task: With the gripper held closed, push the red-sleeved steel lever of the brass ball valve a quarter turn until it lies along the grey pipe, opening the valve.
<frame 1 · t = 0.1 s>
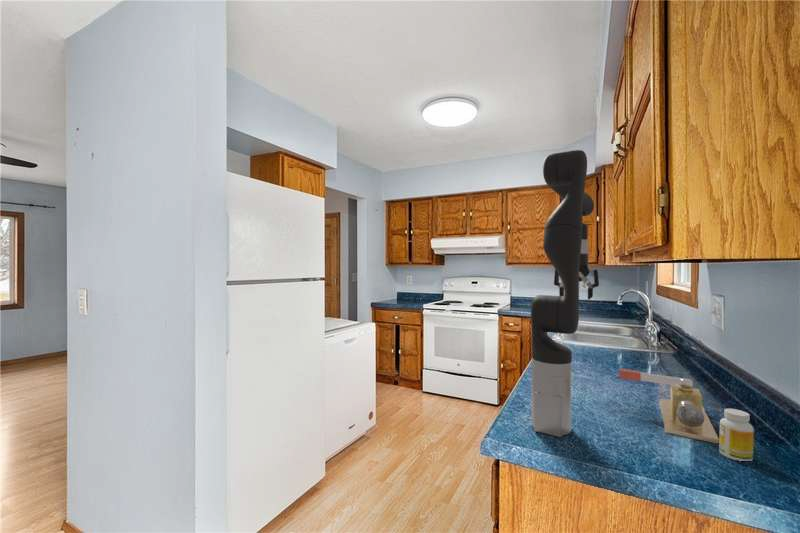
hand: (575, 298, 128), 29 cm above the worktop, tool pointing down, fingers open, 8 cm apart
valve lever: (654, 378, 99), point 10 cm above the worktop, hinge at 90.0°
supplement bottle: (735, 457, 78), on the worktop
valve rig: (685, 419, 96), on the worktop
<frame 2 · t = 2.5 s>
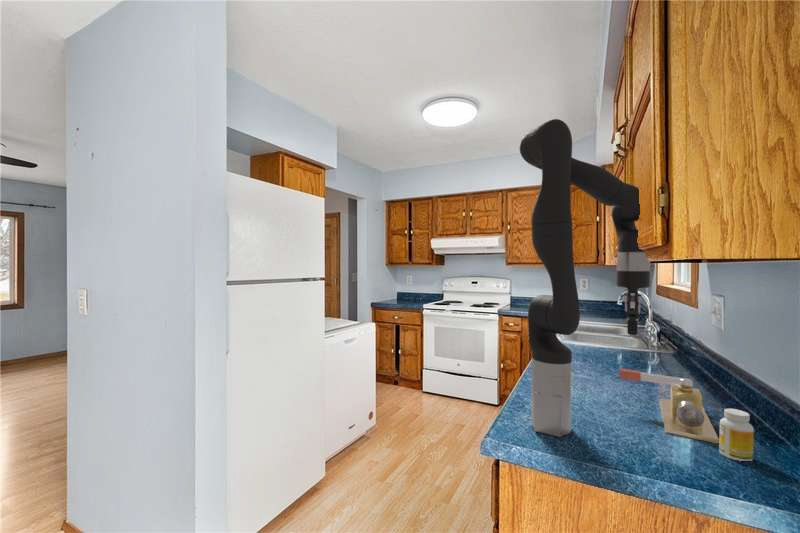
hand: (632, 334, 96), 23 cm above the worktop, tool pointing down, fingers closed
nothing on the worktop moved.
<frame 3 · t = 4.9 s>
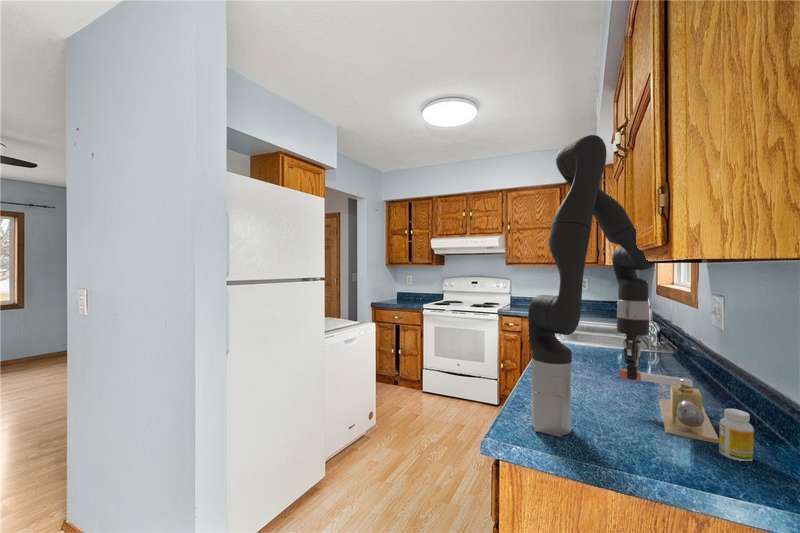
hand: (632, 378, 100), 10 cm above the worktop, tool pointing down, fingers closed
valve lever: (654, 378, 99), point 10 cm above the worktop, hinge at 89.8°, touching gripper
everything else where it was.
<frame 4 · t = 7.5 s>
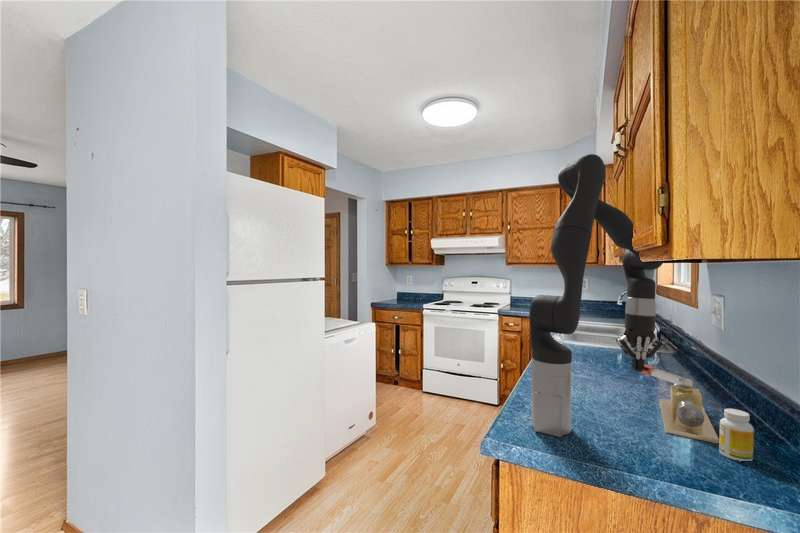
hand: (637, 371, 107), 10 cm above the worktop, tool pointing down, fingers closed
valve lever: (662, 375, 102), point 10 cm above the worktop, hinge at 43.5°, touching gripper
everything else where it was.
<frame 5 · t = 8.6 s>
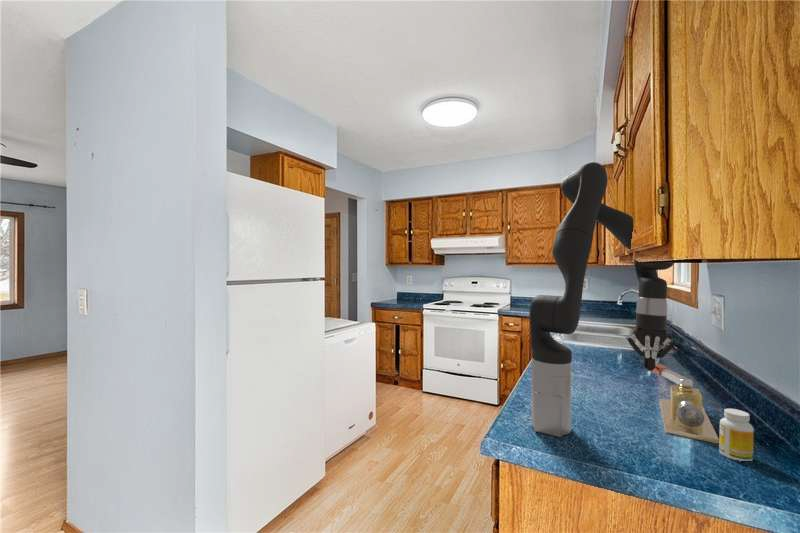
hand: (648, 370, 108), 10 cm above the worktop, tool pointing down, fingers closed
valve lever: (670, 375, 102), point 10 cm above the worktop, hinge at 24.2°, touching gripper
everything else where it was.
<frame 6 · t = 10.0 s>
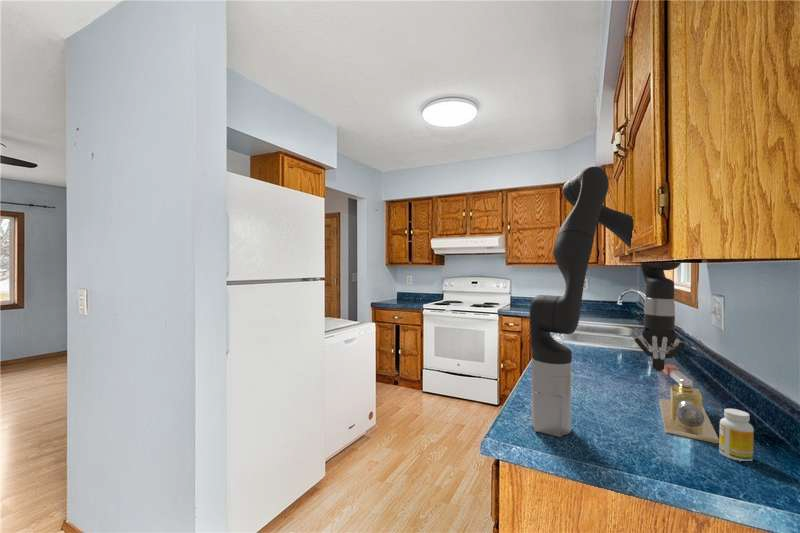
hand: (658, 370, 108), 9 cm above the worktop, tool pointing down, fingers closed
valve lever: (677, 375, 102), point 10 cm above the worktop, hinge at 11.1°
everything else where it was.
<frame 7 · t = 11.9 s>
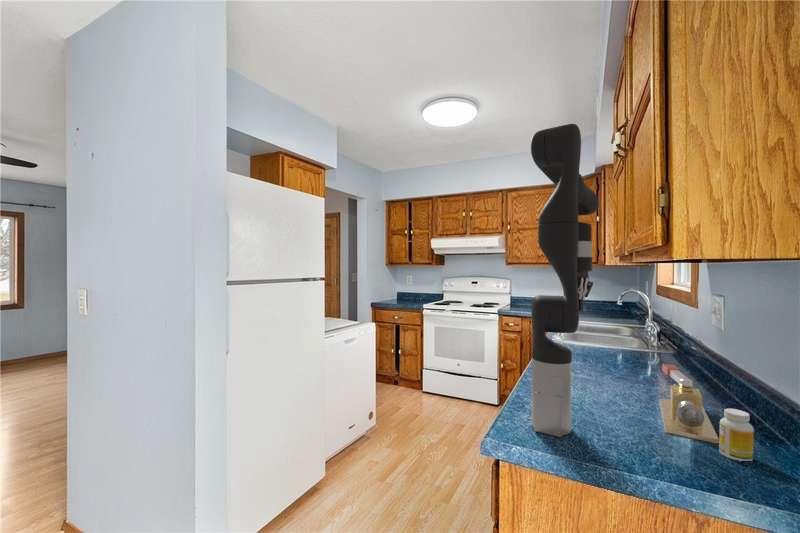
hand: (578, 311, 113), 27 cm above the worktop, tool pointing down, fingers closed
nothing on the worktop moved.
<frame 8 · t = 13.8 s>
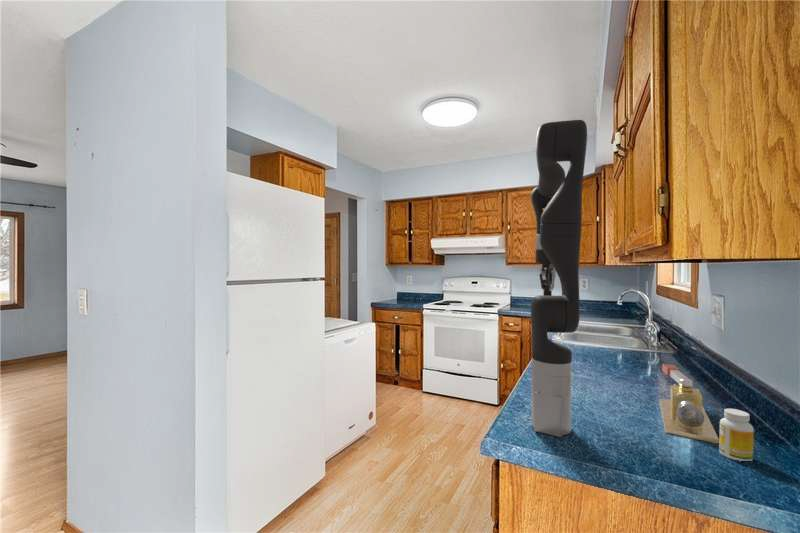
hand: (547, 302, 115), 29 cm above the worktop, tool pointing down, fingers closed
nothing on the worktop moved.
at the end: valve lever at +11° (first picture: +90°) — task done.
